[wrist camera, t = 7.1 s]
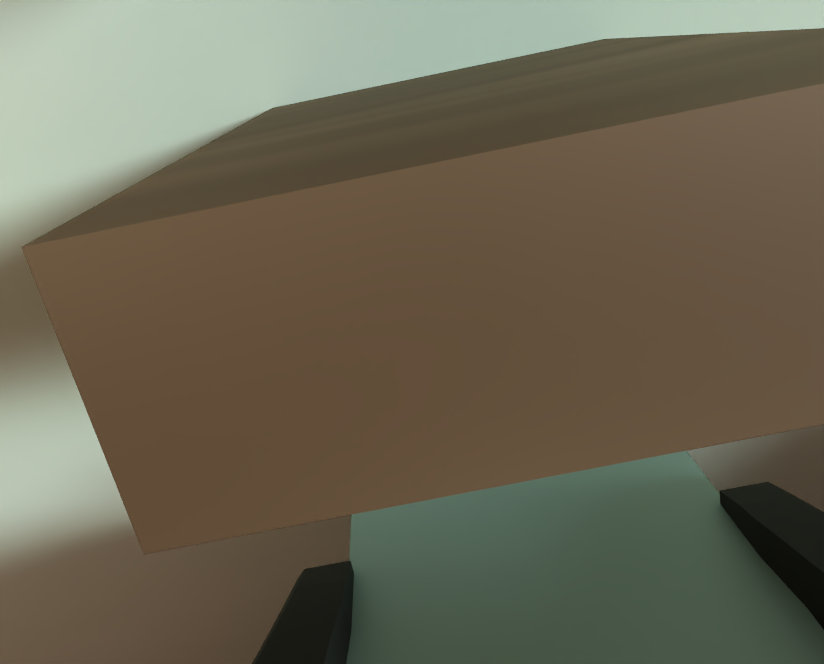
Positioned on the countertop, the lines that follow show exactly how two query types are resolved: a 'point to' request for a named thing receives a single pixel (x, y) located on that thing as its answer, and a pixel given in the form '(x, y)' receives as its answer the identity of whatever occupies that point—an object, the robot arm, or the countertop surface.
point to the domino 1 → (456, 284)
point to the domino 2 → (573, 576)
